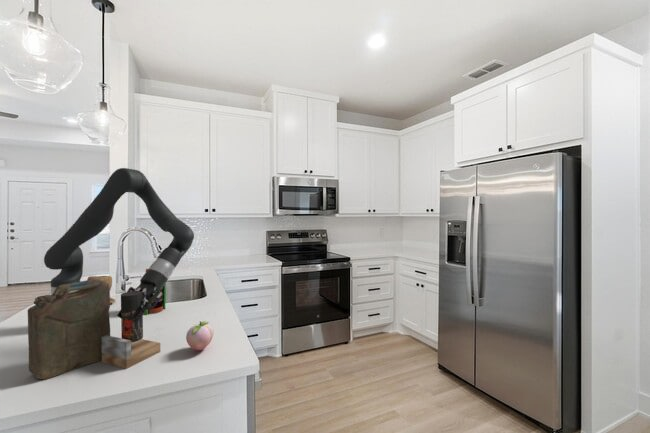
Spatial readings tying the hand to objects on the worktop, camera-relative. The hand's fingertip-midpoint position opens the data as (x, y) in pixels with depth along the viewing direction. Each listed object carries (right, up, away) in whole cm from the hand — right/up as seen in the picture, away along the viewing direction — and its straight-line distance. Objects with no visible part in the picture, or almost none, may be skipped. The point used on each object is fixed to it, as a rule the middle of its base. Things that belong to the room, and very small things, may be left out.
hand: (127, 318), depth 99 cm
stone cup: (-51, -12, +55) cm, 76 cm away
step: (+1, -13, +2) cm, 13 cm away
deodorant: (+1, -7, +2) cm, 8 cm away
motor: (-18, -12, +47) cm, 52 cm away
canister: (-14, -13, -4) cm, 20 cm away
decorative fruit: (+21, -13, +7) cm, 25 cm away
